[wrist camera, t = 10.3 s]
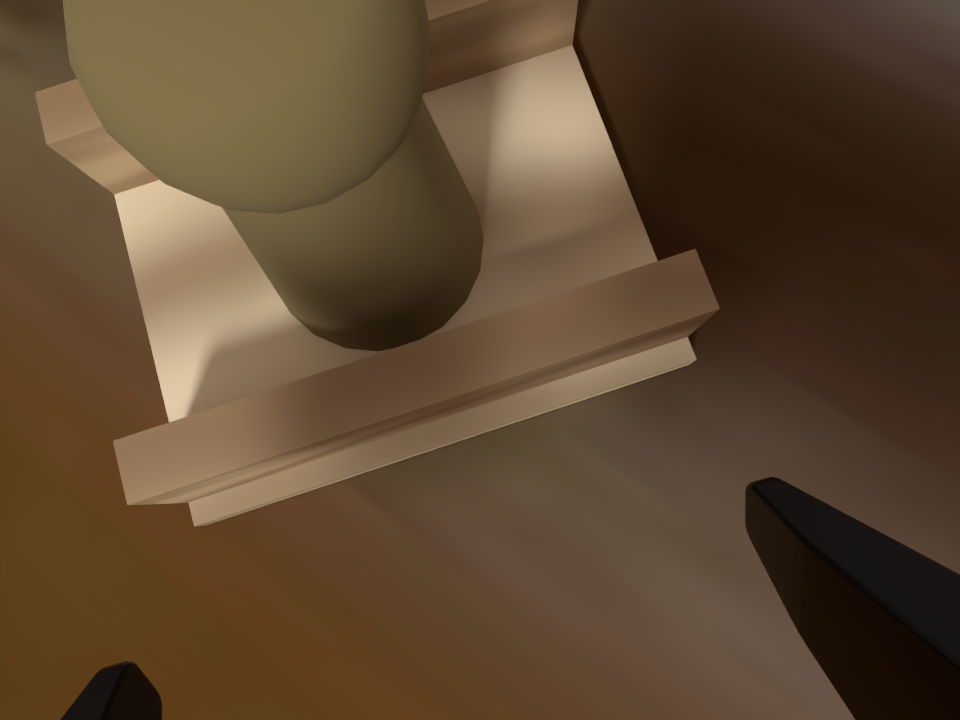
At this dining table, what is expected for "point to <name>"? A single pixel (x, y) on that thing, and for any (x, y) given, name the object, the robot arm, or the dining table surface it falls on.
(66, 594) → the dining table surface
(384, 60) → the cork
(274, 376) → the cradle
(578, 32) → the dining table surface
